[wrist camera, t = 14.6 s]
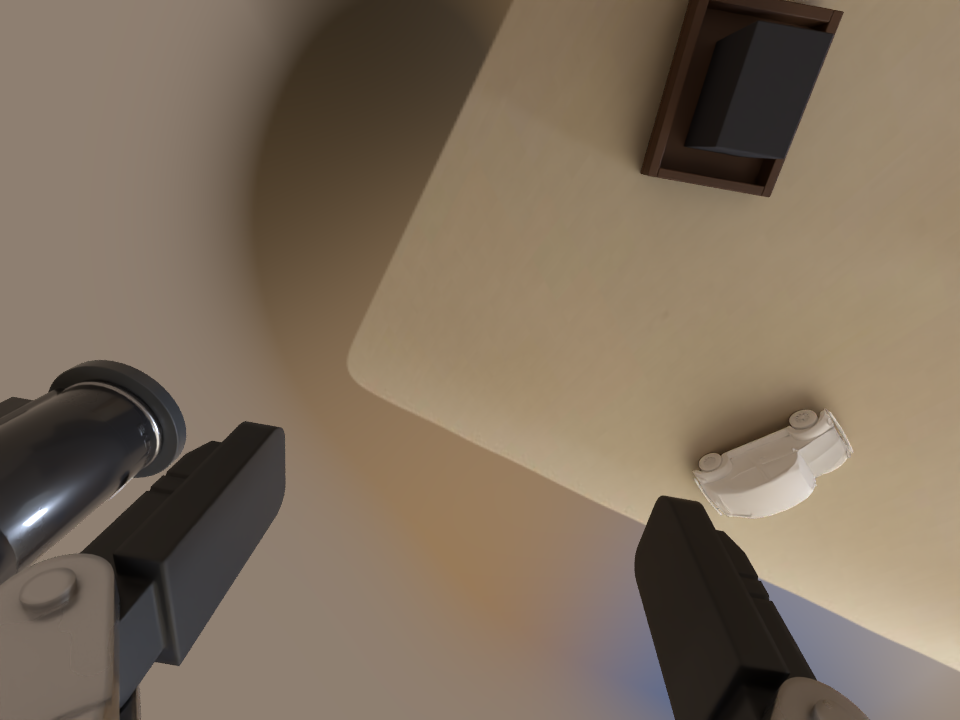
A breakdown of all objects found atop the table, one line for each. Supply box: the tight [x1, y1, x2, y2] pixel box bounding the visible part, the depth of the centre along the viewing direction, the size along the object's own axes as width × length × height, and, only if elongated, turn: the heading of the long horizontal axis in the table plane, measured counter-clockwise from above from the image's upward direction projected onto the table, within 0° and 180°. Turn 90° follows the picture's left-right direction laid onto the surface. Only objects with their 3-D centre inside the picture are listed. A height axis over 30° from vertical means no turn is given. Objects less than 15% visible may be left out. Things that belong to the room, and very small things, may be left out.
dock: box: [641, 0, 844, 197], centre depth 30 cm, size 8×10×2 cm
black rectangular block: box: [684, 20, 834, 159], centre depth 28 cm, size 4×6×6 cm, turn 171°
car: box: [692, 408, 853, 518], centre depth 40 cm, size 12×6×5 cm, turn 128°
